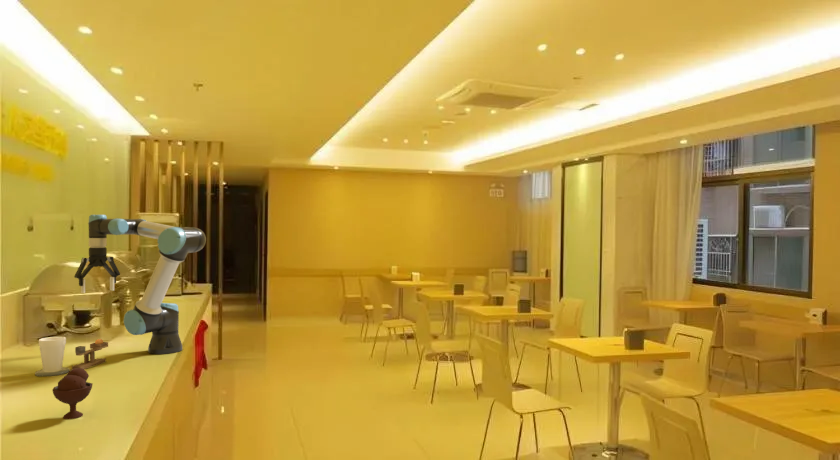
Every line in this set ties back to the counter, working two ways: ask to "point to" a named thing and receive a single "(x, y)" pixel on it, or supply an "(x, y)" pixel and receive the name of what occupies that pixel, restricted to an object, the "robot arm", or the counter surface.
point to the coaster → (42, 373)
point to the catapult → (93, 347)
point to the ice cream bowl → (73, 390)
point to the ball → (99, 341)
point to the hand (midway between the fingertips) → (97, 291)
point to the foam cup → (52, 353)
